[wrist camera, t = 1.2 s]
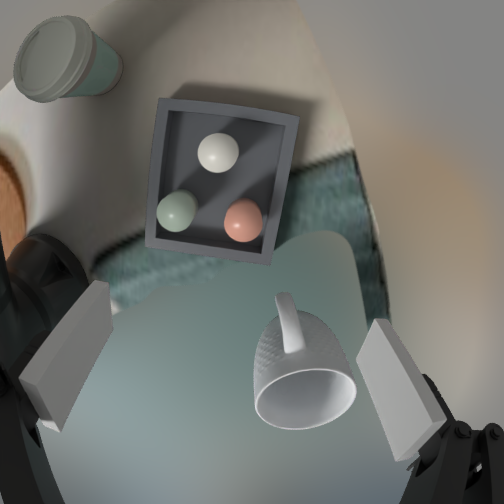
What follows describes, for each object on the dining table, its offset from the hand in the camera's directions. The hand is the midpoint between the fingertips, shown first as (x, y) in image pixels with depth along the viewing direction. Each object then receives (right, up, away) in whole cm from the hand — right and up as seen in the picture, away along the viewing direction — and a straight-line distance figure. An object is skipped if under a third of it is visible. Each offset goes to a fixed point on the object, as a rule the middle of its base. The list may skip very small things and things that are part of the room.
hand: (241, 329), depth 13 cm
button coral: (0, +7, +17) cm, 19 cm away
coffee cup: (-17, +24, +13) cm, 32 cm away
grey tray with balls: (-3, +11, +18) cm, 22 cm away
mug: (+6, -6, +26) cm, 27 cm away
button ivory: (-3, +13, +15) cm, 20 cm away
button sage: (-7, +8, +17) cm, 20 cm away
